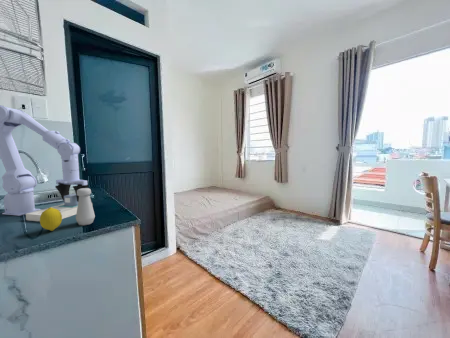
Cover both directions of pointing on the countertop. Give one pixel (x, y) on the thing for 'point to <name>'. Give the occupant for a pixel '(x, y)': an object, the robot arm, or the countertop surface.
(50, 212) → the lemon
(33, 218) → the panel
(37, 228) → the countertop surface
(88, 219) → the salt shaker
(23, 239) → the countertop surface
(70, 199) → the plug
